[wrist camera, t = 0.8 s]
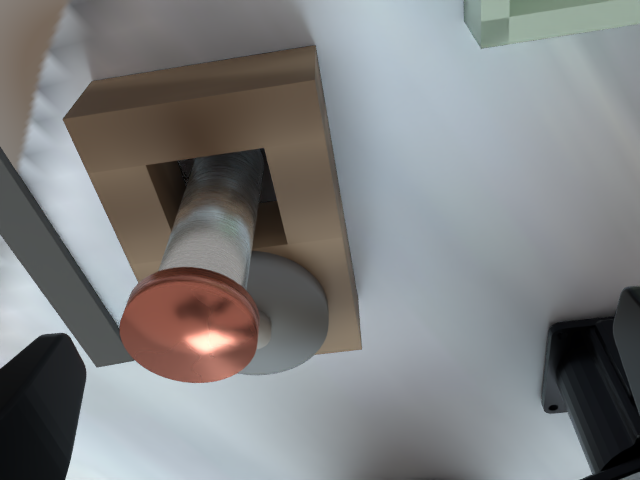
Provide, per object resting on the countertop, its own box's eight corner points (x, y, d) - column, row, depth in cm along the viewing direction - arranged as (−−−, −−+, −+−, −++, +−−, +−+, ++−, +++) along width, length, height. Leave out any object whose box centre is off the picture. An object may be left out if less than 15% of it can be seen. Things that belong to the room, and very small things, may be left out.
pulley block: (358, 300, 27) (364, 375, 24) (190, 320, 28) (172, 396, 25) (315, 45, 20) (314, 99, 17) (91, 81, 21) (46, 140, 17)
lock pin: (285, 195, 24) (270, 375, 17) (198, 206, 24) (146, 389, 17) (265, 113, 22) (238, 279, 14) (171, 127, 22) (98, 297, 15)
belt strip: (135, 354, 30) (133, 360, 29) (99, 361, 30) (96, 367, 30) (-31, 99, 21) (-36, 103, 21) (-80, 111, 22) (-86, 116, 21)
